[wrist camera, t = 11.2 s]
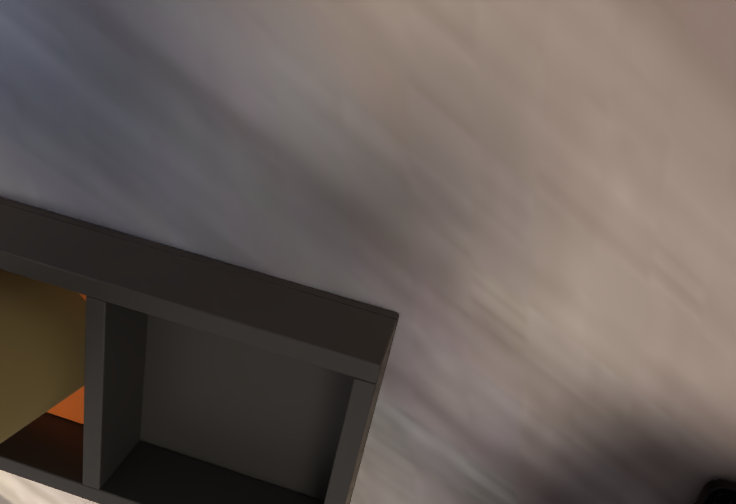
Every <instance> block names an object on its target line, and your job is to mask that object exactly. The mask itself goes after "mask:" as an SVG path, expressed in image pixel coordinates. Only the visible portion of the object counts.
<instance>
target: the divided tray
mask: <svg viewBox="0 0 736 504" xmlns="http://www.w3.org/2000/svg"><path fill="white" fill-rule="evenodd" d="M0 269H1V270H5V271H8V272H11V273H15V274H18V275H21V276H24V277H28V278H31V279H34V280H37V281H41V282H44V283H47V284H51V285H54V286H57V287H60V288H64V289H67V290H70V291H73V292H77V293H79V294H80V295H81V296H82V298H83V299H84V300H85V301H86V313H85V369H84V386H83V387H81V388H80V389H79V390H77V391H76V392H74V393H73V394H71V395H70V396H68V397H67V398H66V399H64V400H63V401H61V402H60V403H58V404H57V405H55V406H54V407H53V408H51V409H50V410H48V411H47V412H45V413H44V414H42V415H41V416H40V417H38V418H37V419H35V420H34V421H32V422H31V423H29V424H28V425H27V426H25V427H24V428H22V429H21V430H19V431H18V432H16V433H15V434H14V435H12V436H11V437H9V438H8V439H6V440H5V441H3V442H2V443H1V444H0V470H3V471H6V472H9V473H12V474H15V475H17V476H20V477H23V478H26V479H29V480H32V481H35V482H38V483H41V484H44V485H47V486H50V487H52V488H55V489H58V490H61V491H64V492H67V493H70V494H73V495H76V496H79V497H82V498H85V499H87V500H90V501H93V502H96V503H99V504H350V500H351V496H352V492H353V489H354V485H355V481H356V477H357V474H358V470H359V466H360V462H361V458H362V455H363V451H364V447H365V443H366V439H367V436H368V432H369V428H370V424H371V421H372V417H373V413H374V409H375V405H376V402H377V398H378V394H379V390H380V387H381V383H382V379H383V375H384V371H385V368H386V364H387V360H388V356H389V353H390V349H391V345H392V341H393V337H394V334H395V330H396V326H397V322H398V318H399V314H398V313H394V312H391V311H387V310H384V309H380V308H377V307H374V306H370V305H367V304H363V303H360V302H356V301H353V300H350V299H346V298H343V297H339V296H336V295H333V294H329V293H326V292H322V291H319V290H315V289H312V288H309V287H305V286H302V285H298V284H295V283H291V282H288V281H285V280H281V279H278V278H274V277H271V276H267V275H264V274H261V273H257V272H254V271H250V270H247V269H244V268H240V267H237V266H233V265H230V264H226V263H223V262H220V261H216V260H213V259H209V258H206V257H202V256H199V255H196V254H192V253H189V252H185V251H182V250H178V249H175V248H172V247H168V246H165V245H161V244H158V243H155V242H151V241H148V240H144V239H141V238H137V237H134V236H131V235H127V234H124V233H120V232H117V231H113V230H110V229H107V228H103V227H100V226H96V225H93V224H90V223H86V222H83V221H79V220H76V219H72V218H69V217H66V216H62V215H59V214H55V213H52V212H48V211H45V210H42V209H38V208H35V207H31V206H28V205H24V204H21V203H18V202H14V201H11V200H7V199H4V198H1V197H0Z"/></svg>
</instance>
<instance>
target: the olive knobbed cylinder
mask: <svg viewBox="0 0 736 504" xmlns="http://www.w3.org/2000/svg"><path fill="white" fill-rule="evenodd" d="M85 313H86V301H85V300H84V299H83V298H82V296H81V295H80V294H79V293H77V292H73V291H70V290H67V289H64V288H60V287H57V286H54V285H51V284H47V283H44V282H41V281H37V280H34V279H31V278H28V277H24V276H21V275H18V274H15V273H11V272H8V271H5V270H1V269H0V444H1V443H2V442H3V441H5V440H6V439H8V438H9V437H11V436H12V435H14V434H15V433H16V432H18V431H19V430H21V429H22V428H24V427H25V426H27V425H28V424H29V423H31V422H32V421H34V420H35V419H37V418H38V417H40V416H41V415H42V414H44V413H45V412H47V411H48V410H50V409H51V408H53V407H54V406H55V405H57V404H58V403H60V402H61V401H63V400H64V399H66V398H67V397H68V396H70V395H71V394H73V393H74V392H76V391H77V390H79V389H80V388H81V387H83V386H84V369H85Z"/></svg>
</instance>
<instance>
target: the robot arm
mask: <svg viewBox="0 0 736 504" xmlns="http://www.w3.org/2000/svg"><path fill="white" fill-rule="evenodd" d="M719 494H727V495H725V496H723V497H716V496H717V495H719ZM694 504H736V483H735V482H731V481H728V480H723V479H716V480H712V481H710V482H708V483H707V484H706V485H705V486H704V488H703V490H702V491H701V493H700V495H699V496H698V498H697V500H696V502H695V503H694Z"/></svg>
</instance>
